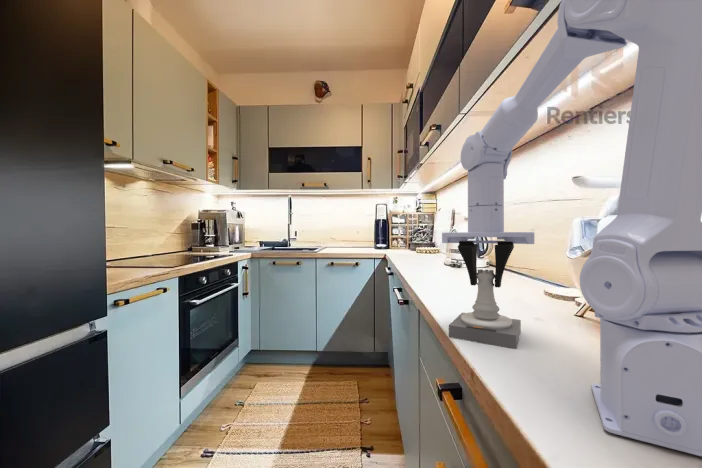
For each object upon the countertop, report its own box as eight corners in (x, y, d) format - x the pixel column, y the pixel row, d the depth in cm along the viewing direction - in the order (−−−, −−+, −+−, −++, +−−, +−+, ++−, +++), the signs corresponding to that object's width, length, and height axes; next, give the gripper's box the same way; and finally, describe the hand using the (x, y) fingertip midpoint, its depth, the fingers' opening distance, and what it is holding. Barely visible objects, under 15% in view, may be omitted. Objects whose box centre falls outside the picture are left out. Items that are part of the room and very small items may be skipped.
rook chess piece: (492, 313, 55) (491, 269, 56) (505, 319, 51) (505, 271, 51) (467, 313, 55) (467, 268, 56) (478, 319, 51) (478, 271, 51)
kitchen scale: (516, 348, 47) (516, 330, 47) (448, 337, 52) (448, 320, 52) (520, 331, 55) (520, 315, 55) (462, 322, 60) (462, 308, 60)
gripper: (534, 206, 53) (535, 285, 53) (448, 210, 61) (449, 279, 61) (533, 203, 47) (533, 292, 47) (438, 207, 55) (438, 284, 55)
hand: (485, 285), depth 53 cm, fingers closed on rook chess piece, 3 cm apart
